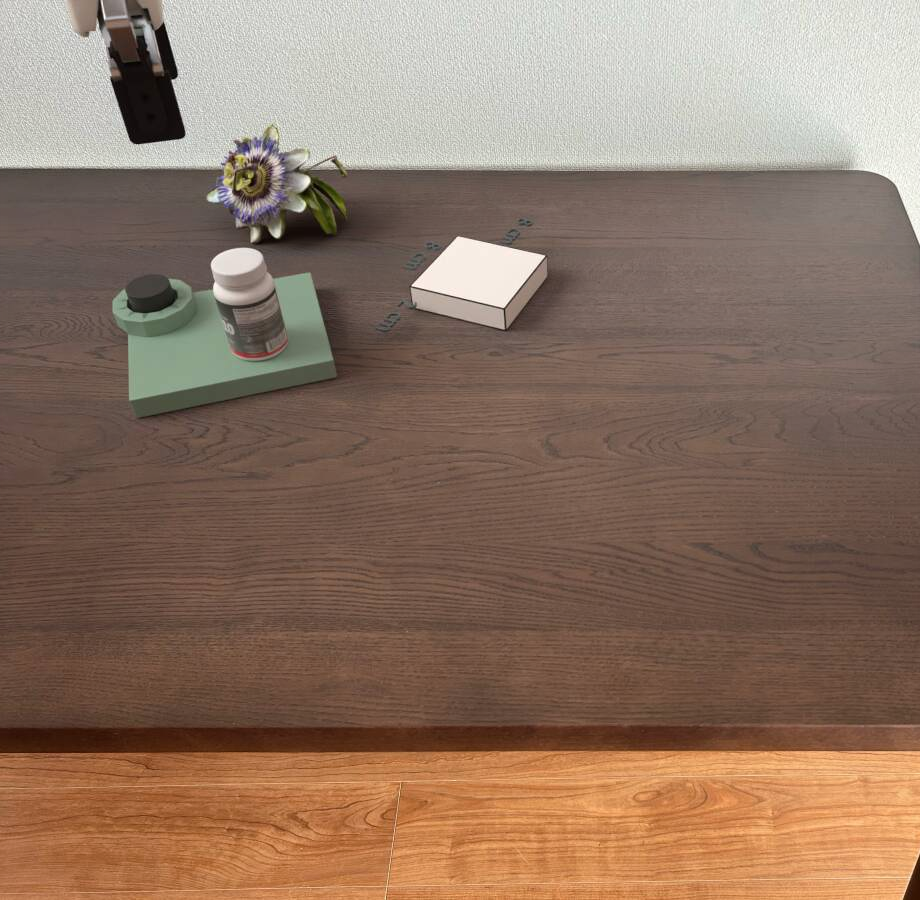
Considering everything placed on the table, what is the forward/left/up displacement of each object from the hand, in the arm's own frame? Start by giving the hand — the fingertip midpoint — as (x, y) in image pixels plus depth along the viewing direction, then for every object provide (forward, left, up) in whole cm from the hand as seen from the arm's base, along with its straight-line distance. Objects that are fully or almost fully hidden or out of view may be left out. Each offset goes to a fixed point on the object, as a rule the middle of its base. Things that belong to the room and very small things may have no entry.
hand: (156, 108), depth 62 cm
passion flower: (+6, +28, -25) cm, 38 cm away
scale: (-1, +8, -25) cm, 26 cm away
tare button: (-6, +12, -22) cm, 26 cm away
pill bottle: (+2, +5, -23) cm, 24 cm away
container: (+21, +10, -25) cm, 34 cm away
